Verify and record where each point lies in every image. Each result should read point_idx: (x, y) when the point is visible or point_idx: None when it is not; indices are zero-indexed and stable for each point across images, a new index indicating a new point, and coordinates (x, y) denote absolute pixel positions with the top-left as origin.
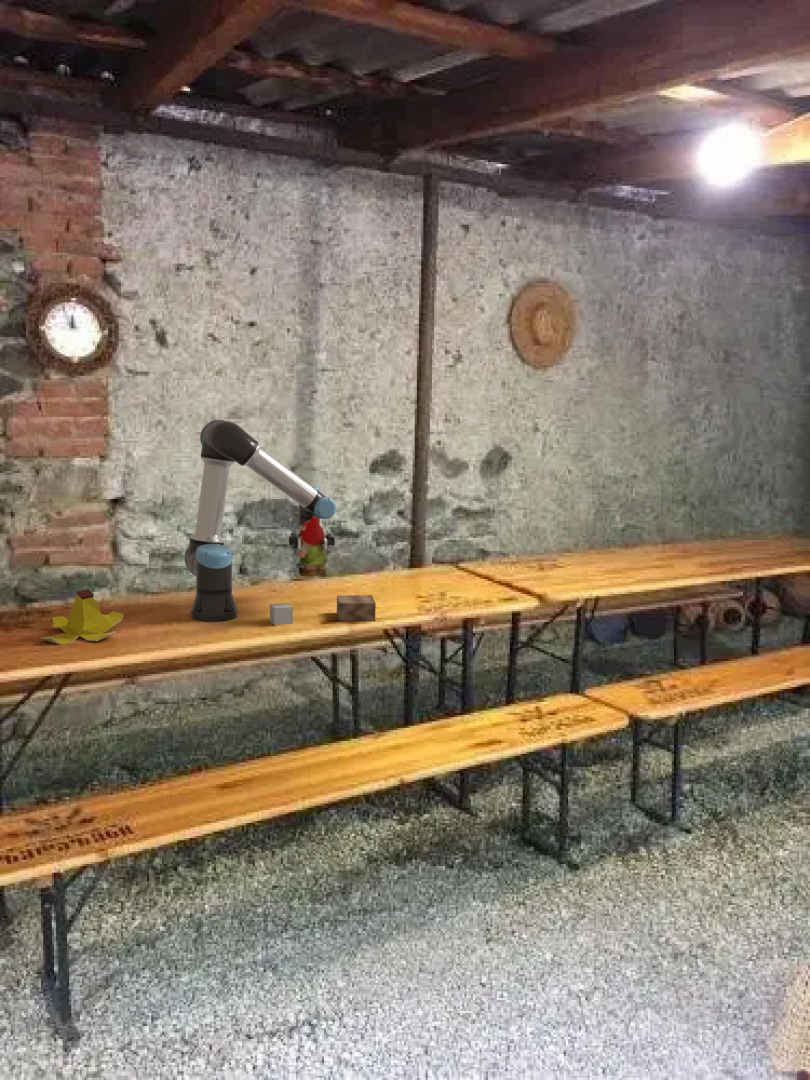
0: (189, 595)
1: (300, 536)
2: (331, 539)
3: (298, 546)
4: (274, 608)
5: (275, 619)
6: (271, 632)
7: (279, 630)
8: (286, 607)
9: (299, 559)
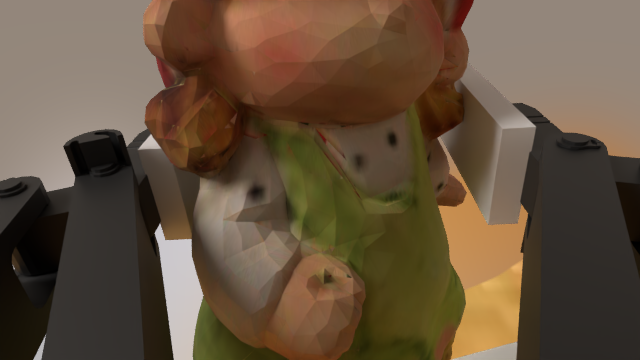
0: None
1: (466, 49)
2: (50, 197)
3: None
4: None
5: None
6: (488, 310)
7: (468, 332)
8: (471, 354)
9: (457, 275)
